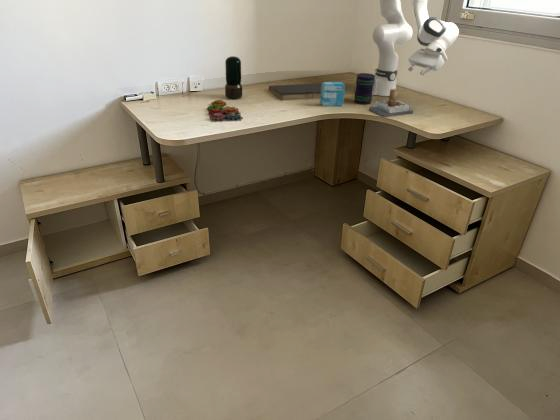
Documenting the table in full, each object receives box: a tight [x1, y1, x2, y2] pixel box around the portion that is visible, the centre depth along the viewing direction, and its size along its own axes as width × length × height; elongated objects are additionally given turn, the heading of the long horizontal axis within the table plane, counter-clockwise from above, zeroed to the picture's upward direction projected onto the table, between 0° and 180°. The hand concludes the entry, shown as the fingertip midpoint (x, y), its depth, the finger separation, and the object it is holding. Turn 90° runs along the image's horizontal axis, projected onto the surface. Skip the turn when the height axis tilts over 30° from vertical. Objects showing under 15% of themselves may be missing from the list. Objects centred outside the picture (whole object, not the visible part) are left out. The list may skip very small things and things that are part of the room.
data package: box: [319, 81, 346, 107], centre depth 231 cm, size 12×4×12 cm, turn 98°
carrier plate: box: [368, 99, 414, 118], centre depth 226 cm, size 13×19×4 cm
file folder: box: [268, 82, 322, 102], centre depth 252 cm, size 33×4×24 cm
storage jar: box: [353, 72, 375, 106], centre depth 237 cm, size 10×10×15 cm
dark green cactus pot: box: [224, 55, 243, 100], centre depth 234 cm, size 10×10×22 cm
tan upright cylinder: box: [386, 88, 399, 107], centre depth 224 cm, size 7×7×10 cm
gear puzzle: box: [206, 99, 244, 123], centre depth 216 cm, size 31×16×4 cm, turn 13°
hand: (415, 72), depth 222 cm, fingers open, 8 cm apart
